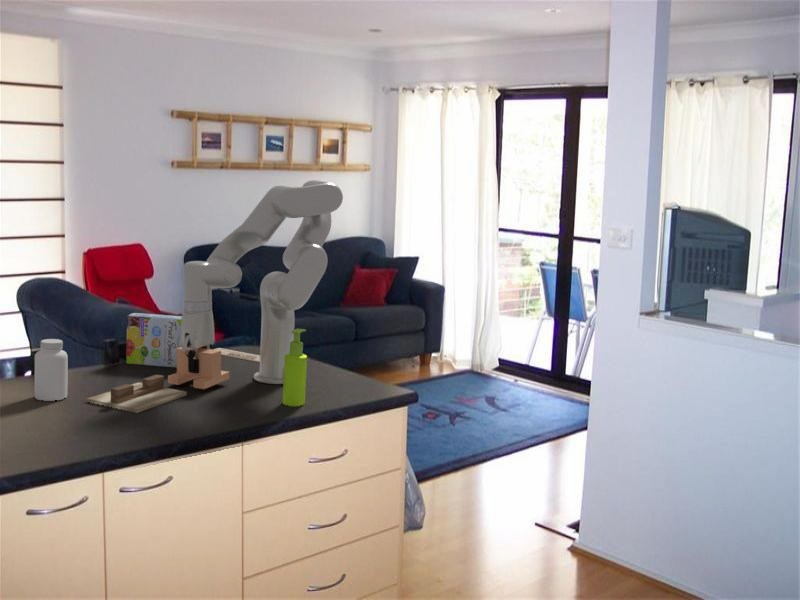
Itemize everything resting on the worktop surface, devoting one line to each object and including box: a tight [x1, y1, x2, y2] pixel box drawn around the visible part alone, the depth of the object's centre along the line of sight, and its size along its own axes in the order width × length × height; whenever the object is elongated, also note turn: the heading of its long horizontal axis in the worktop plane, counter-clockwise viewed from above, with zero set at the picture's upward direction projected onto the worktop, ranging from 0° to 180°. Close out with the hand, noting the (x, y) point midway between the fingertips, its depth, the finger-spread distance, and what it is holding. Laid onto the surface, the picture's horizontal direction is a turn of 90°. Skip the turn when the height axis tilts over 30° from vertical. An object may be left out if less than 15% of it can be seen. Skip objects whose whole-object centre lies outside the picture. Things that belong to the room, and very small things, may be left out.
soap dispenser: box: [282, 328, 308, 407], centre depth 245 cm, size 6×7×20 cm
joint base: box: [86, 374, 188, 414], centre depth 241 cm, size 16×20×4 cm
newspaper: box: [213, 347, 260, 363], centre depth 294 cm, size 24×7×2 cm, turn 64°
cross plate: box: [167, 346, 230, 390], centre depth 256 cm, size 12×12×9 cm
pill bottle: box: [34, 338, 69, 402], centre depth 236 cm, size 8×8×15 cm
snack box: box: [125, 312, 182, 369], centre depth 277 cm, size 21×6×15 cm, turn 84°
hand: (198, 369), depth 256 cm, fingers closed on cross plate, 4 cm apart
